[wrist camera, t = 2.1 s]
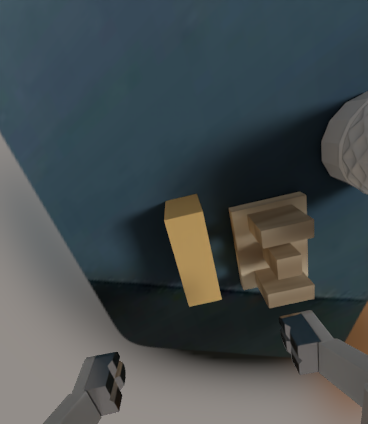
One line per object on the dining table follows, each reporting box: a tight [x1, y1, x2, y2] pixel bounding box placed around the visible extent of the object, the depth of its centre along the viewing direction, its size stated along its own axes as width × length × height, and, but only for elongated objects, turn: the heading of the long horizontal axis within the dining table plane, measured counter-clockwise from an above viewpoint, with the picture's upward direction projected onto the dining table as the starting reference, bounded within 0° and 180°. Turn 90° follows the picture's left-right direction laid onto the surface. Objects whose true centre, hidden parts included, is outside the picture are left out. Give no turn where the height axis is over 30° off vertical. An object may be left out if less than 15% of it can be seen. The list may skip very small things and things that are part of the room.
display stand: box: [229, 191, 314, 308], centre depth 18 cm, size 8×6×4 cm
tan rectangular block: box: [164, 194, 222, 307], centre depth 18 cm, size 8×3×4 cm, turn 13°
